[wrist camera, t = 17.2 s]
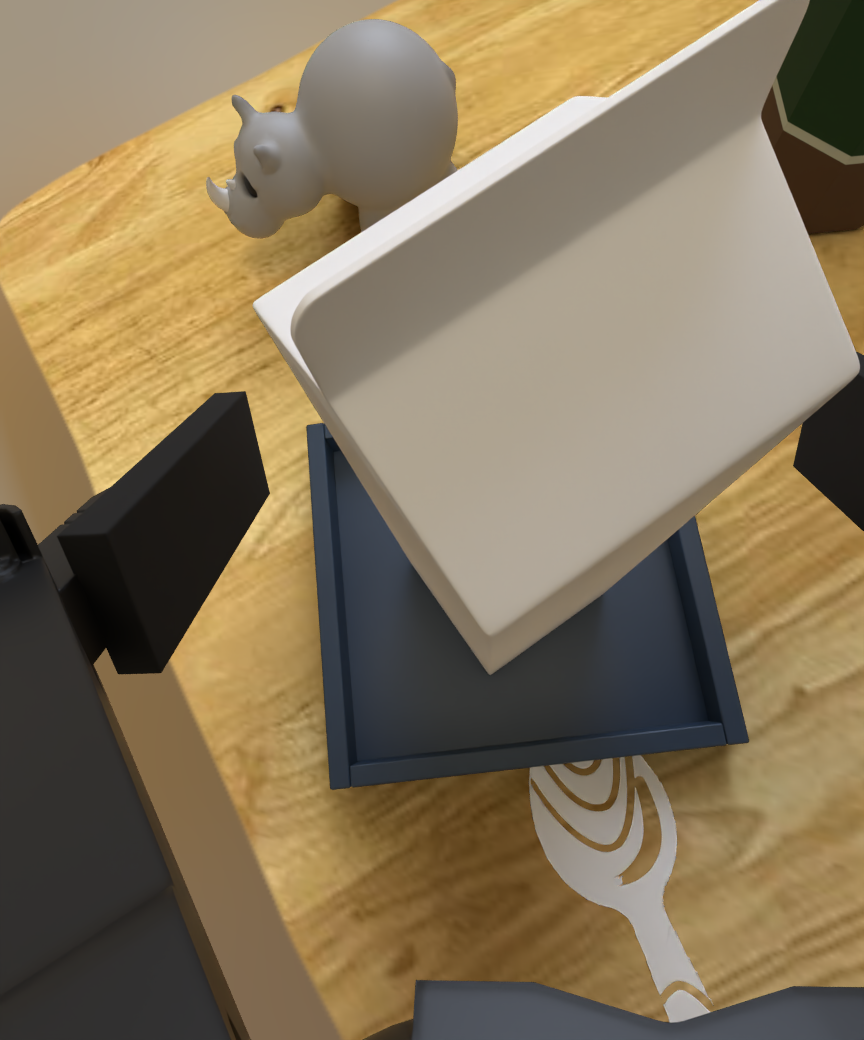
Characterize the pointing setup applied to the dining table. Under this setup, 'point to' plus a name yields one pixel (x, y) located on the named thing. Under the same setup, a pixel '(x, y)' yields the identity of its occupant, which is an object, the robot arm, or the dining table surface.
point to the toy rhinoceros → (347, 132)
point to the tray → (521, 682)
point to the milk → (575, 337)
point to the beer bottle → (822, 116)
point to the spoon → (618, 864)
